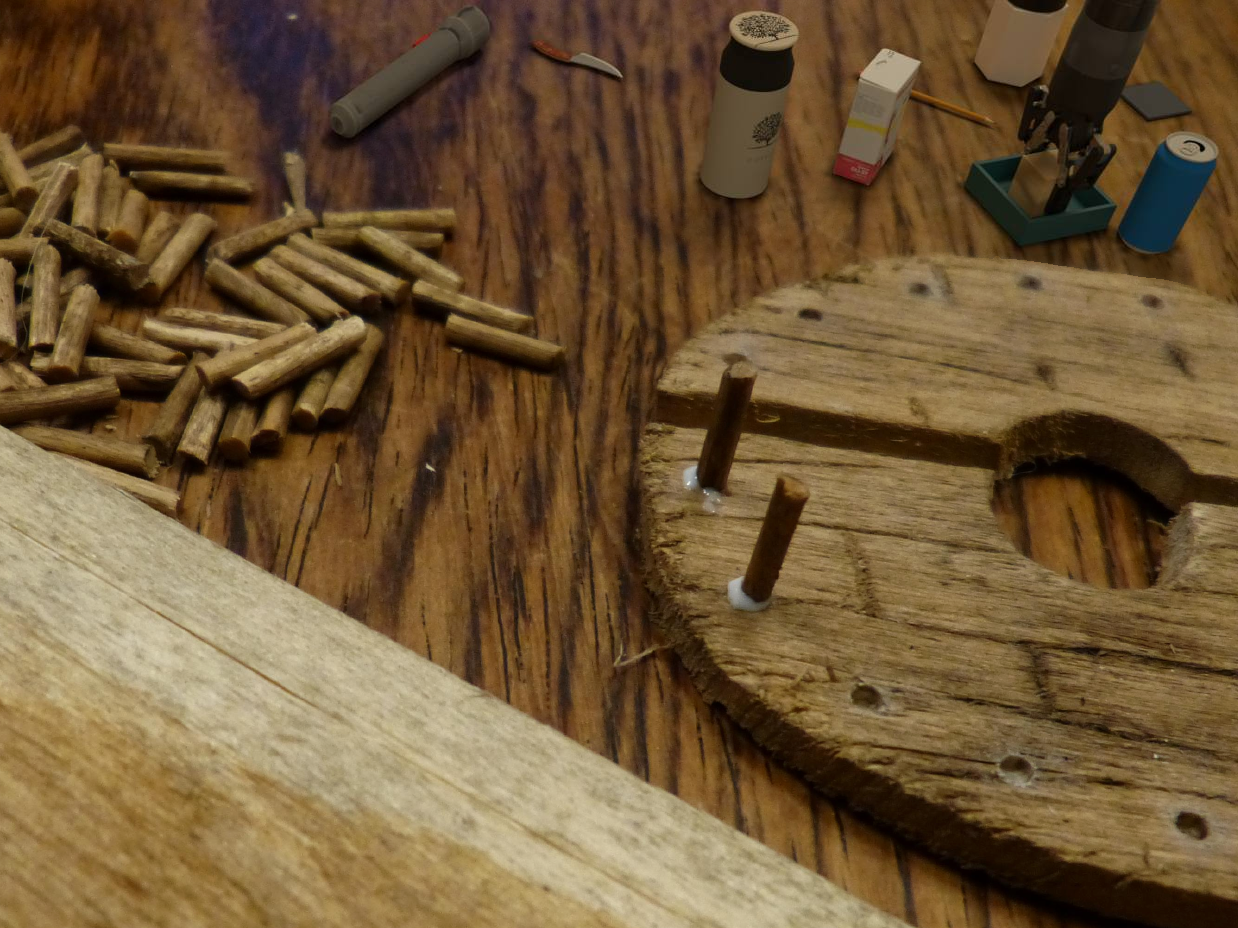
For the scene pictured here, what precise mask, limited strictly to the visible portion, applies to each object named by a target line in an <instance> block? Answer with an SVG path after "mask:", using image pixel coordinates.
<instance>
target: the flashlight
mask: <svg viewBox="0 0 1238 928" xmlns="http://www.w3.org/2000/svg"><path fill="white" fill-rule="evenodd" d="M490 37H491V25H490V23H489V20H488V18H487V16H486V14H485V13H484V12H483V11H482V10H481V9H480V8H478V7H476V6H474V5H465V6H462V7H461V8H460V9H457V10H456V11H455V12H454V13H453V14H451V15H450V16H448V17H447V18H445V19H444V21H443V22H442V24H441V25H440V26H439V28H438V29H437V30H436V31H435V32H433V33H432V34H430V33H427V34H425V35H423V36H422V37H420V38H419V39H418V40H416V41H415V42H413V44H412V48H411V49H409V50H408V51H407V52H405V53H403V54H402V55H401V56H399V57H398V58H396V59H395V60H394V61H392V62H390V63H389V64H388V65H387V66H385V67H383V68H382V69H381V70H380V71H377V72H376V73H375V74H374V75H372V76H371V77H370V78H367V80H366V81H364V82H363V83H361V84H360V85H358V86H357V87H355V88H354V89H353V90H351V91H350V92H349V93H347V94H346V95H344V96H343V97H341V98H340V99H339V100H337V101H336V102H334V103H333V104H331V105H330V106H329V109H328V119H329V123H330V126H331V128H332V130H333V131H334V132H335V133H336V134H338V135H339V136H341V137H343V138H344V139H345V138H346V139H351V138H353V137H354V136H356V135H357V134H358V133H360V132H361V131H363V130H364V129H366V128H367V127H368V126H370V125H371V124H372V123H373V122H375V121H376V120H378V119H379V118H380V117H382V116H383V115H384V114H386V113H387V112H388V111H389V110H391V109H392V108H394V107H395V106H396V105H398V104H399V103H400V102H401V101H404V99H406V98H407V97H409V96H410V95H412V94H413V93H414V92H415V91H417V90H418V89H419V88H421V87H423V86H424V85H426V84H427V82H429V81H431V80H432V79H433V78H434V77H436V76H437V75H438V74H440V73H441V72H443V71H444V70H446V69H447V68H448V67H449V66H451V65H452V64H454V63H455V62H456V61H461V60H465V59H467V58H469V57H470V56H472V55H473V54H474V53H476V52H477V51H478V50H480V49H481V48H483V46H485V45H486V44H487V43H488V42H489V39H490Z"/></svg>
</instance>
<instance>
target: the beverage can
mask: <svg viewBox="0 0 1238 928" xmlns="http://www.w3.org/2000/svg"><path fill="white" fill-rule="evenodd" d="M1218 155H1219V148H1218V146H1217V145H1216V144H1215V143H1214V142H1213V141H1212V140H1211V139H1209V138H1208V137H1206V136H1204V135H1202V134H1199V133H1196V132H1193V131H1192V132H1191V131H1175V132H1172V133H1170V134H1168V136H1167V137H1166V139H1165V140H1164V141H1162V142H1161V143H1160V144H1158V146H1157V148H1156V150H1155V151H1154V154H1153V155H1152V157H1151V160H1150V162H1149V164H1148V166H1147V167H1146V170H1145V172H1144V173H1143V176H1142V178H1141V180H1140V182H1139V184H1138V186H1137V188H1136V190H1135V192H1134V194H1133V196H1132V198H1131V200H1130V202H1129V204H1128V206H1127V208H1126V210H1125V212H1124V214H1123V216H1122V218H1121V221H1120V222H1119V223H1118V226H1117V227H1118V228H1117V233H1118V235H1119V236H1120V238H1121V240H1122V242H1123V243H1124V244H1125V245H1126V246H1127V247H1128V248H1130V249H1131V250H1132V251H1135V252H1137V253H1140V254H1146V255H1154V254H1155V255H1156V254H1159V253H1164V252H1166V251H1169V250H1171V248H1173V246H1174V245H1175V243H1176V242H1177V239H1178V237H1179V236H1180V233H1181V232H1182V230H1183V229H1184V227H1185V225H1186V223H1187V221H1188V220H1189V217H1190V215H1191V213H1192V212H1193V210H1194V208H1195V206H1196V205H1197V203H1198V201H1199V199H1200V197H1201V196H1202V193H1203V192H1204V191H1205V188H1206V186H1207V184H1208V183H1209V181H1210V178H1211V177H1212V175H1213V173H1214V171H1215V169H1216V167H1217V165H1218V160H1217V159H1218V158H1217V157H1218Z"/></svg>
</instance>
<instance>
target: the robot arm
mask: <svg viewBox="0 0 1238 928" xmlns="http://www.w3.org/2000/svg"><path fill="white" fill-rule="evenodd" d="M1161 2H1162V0H1085V1H1084V5H1083V6H1082V9H1081V11H1080V12H1079V14H1078V16H1077V18H1076V20H1075V21H1074V23H1073V25H1072V27H1071V30H1070V32H1069V33H1068V34H1069V35H1068V37H1067V40H1066V43H1065V45H1064V48H1063V50H1062V51H1061V55H1060V57H1059V59H1058V62H1057V64H1056V67H1055V69H1054V72H1053V74H1052V76H1051V79H1050V81H1049V83H1048V84H1041V85H1035V86H1031V87H1029V89H1028V91H1027V96H1026V99H1025V105H1024V107H1023V112H1022V116H1021V119H1020V124H1019V128H1018V132H1017V139H1018V141H1019V142H1023V143H1024V147H1023V151H1024V153H1025V155H1028V154H1033V153H1039V152H1044V151H1046V150H1047V149H1050V148H1051V146H1052V145H1053V144H1054V145H1055V147H1057V149H1058V157H1057V165H1059V167H1060V168H1059V175H1058V182H1057V184H1055V186H1054V189H1053V191H1052V193H1051V195H1050V198H1049V200H1048V202H1047V205H1046V207H1045V209H1044V211H1045V212H1046V213H1047V214H1048V215H1053V214H1058V213H1061V212H1063V211H1064V210H1065V209H1066V208H1067V206H1068V204H1069V201H1070V199H1071V197H1072V195H1073V193H1074V192H1075V191H1081V190H1086V189H1091V188H1092V187H1093V186H1094V184H1096V183H1097V182H1098V180H1099V178H1100V177H1101V175H1102V174H1103V172H1104V171H1105V170H1106V168H1107V167H1108V165H1109V164H1110V163H1111V161H1112V159H1113V158H1114V157H1115V156H1116V153H1117V150H1118V147H1117V145H1116V143H1110V144H1108V143H1107V142H1106V140H1105V138H1104V137H1103V135H1102V134H1103V132H1104V123H1105V120H1106V118H1107V117H1108V115H1109V114H1110V113H1111V112H1112V111H1113V110H1114V109H1115V108H1116V107H1117V104H1118V102H1119V100H1120V98H1121V94H1122V91H1123V89H1124V88H1126V85H1127V82H1128V80H1129V78H1130V76H1131V74H1132V71H1133V69H1134V67H1135V65H1136V63H1137V61H1138V58H1139V56H1140V54H1141V52H1142V49H1143V47H1144V45H1145V41H1146V38H1147V35H1148V31H1149V29H1150V26H1151V24H1152V22H1153V19H1154V17H1155V15H1156V13H1157V11H1158V9H1159V6H1160V5H1161ZM1032 122H1033V125H1032V126H1033V127H1031V124H1032ZM1072 153H1076V155H1070V154H1072ZM1071 166H1074V167H1073V173H1072V175H1069V173H1070V168H1071Z"/></svg>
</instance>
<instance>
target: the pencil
mask: <svg viewBox="0 0 1238 928" xmlns="http://www.w3.org/2000/svg"><path fill="white" fill-rule="evenodd" d="M863 71H864V70H859V71H858V74H857V75H858V76H859V77H860V74H861V73H862V72H863ZM910 96H913V97H916V98H919V99H921V100H924V101H926V102H929V103H932V104H934V105H937V106H940V107H943V108H945V109H948V110H950V111H953V112H956V113H958V114H960V115H964V116H966V117H969V118H972V119H974V120H977V121H980V122H983V123H987V124H988V123H989V124H993V125H994V124H995V125H996V124H997V123H996V122H994V121H993V120H992V119H990V118H989V117H987V116H984V115H982V114H979V113H976V112H973V111H972V110H969V109H965V108H962V107H960V106H957V105H955V104H952V103H949V102H947V101H944V100H941V99H938V98H936V97H933V96H930V95H928V94H925V93H922V92H920V91H917V90H915V89H912V90H911V93H910Z"/></svg>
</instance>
